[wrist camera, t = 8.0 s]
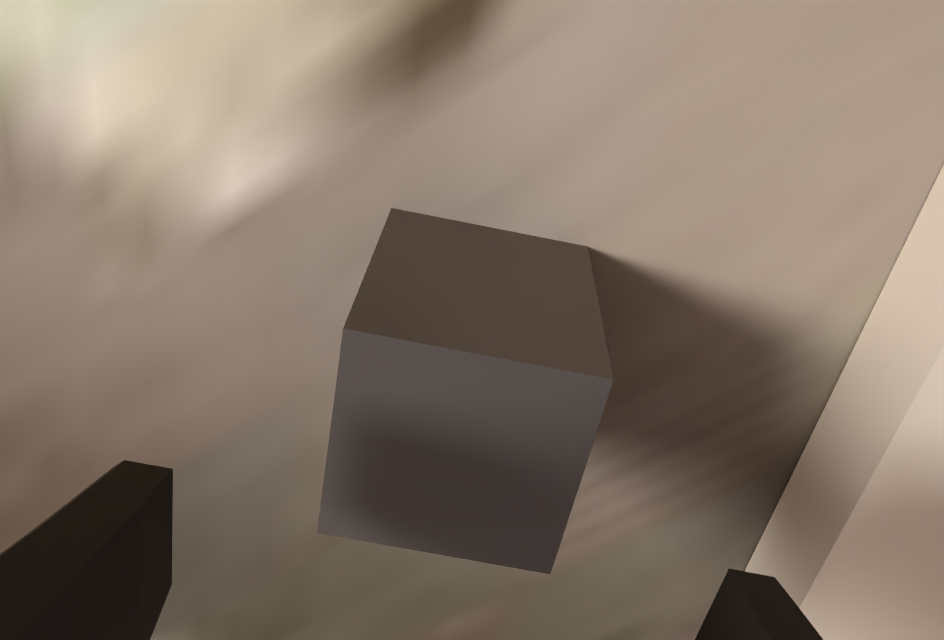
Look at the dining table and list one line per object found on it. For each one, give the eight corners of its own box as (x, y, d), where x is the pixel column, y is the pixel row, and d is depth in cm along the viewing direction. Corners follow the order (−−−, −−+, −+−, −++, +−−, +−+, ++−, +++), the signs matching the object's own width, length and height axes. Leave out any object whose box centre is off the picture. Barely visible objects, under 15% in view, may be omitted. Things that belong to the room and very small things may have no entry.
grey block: (542, 406, 18) (550, 573, 14) (367, 373, 18) (317, 532, 13) (587, 245, 16) (613, 380, 12) (391, 207, 16) (343, 328, 11)
